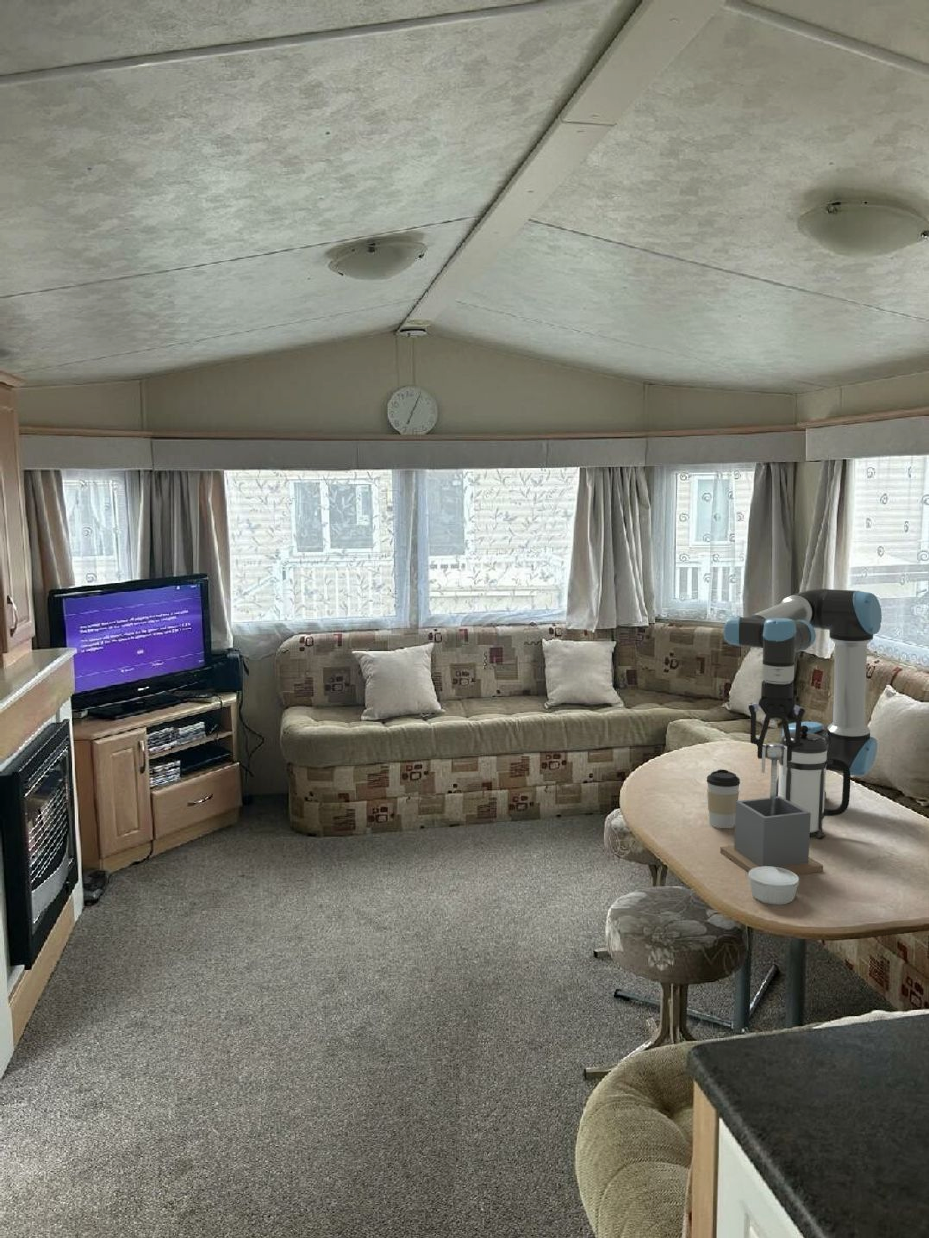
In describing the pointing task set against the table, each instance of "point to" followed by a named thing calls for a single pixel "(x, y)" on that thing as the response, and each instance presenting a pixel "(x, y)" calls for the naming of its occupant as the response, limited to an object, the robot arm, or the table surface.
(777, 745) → the plunger
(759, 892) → the ramekin
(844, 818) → the table surface
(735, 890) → the table surface
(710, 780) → the coffee cup
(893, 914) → the table surface
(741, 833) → the square grey bin
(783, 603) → the robot arm
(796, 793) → the coffee press
